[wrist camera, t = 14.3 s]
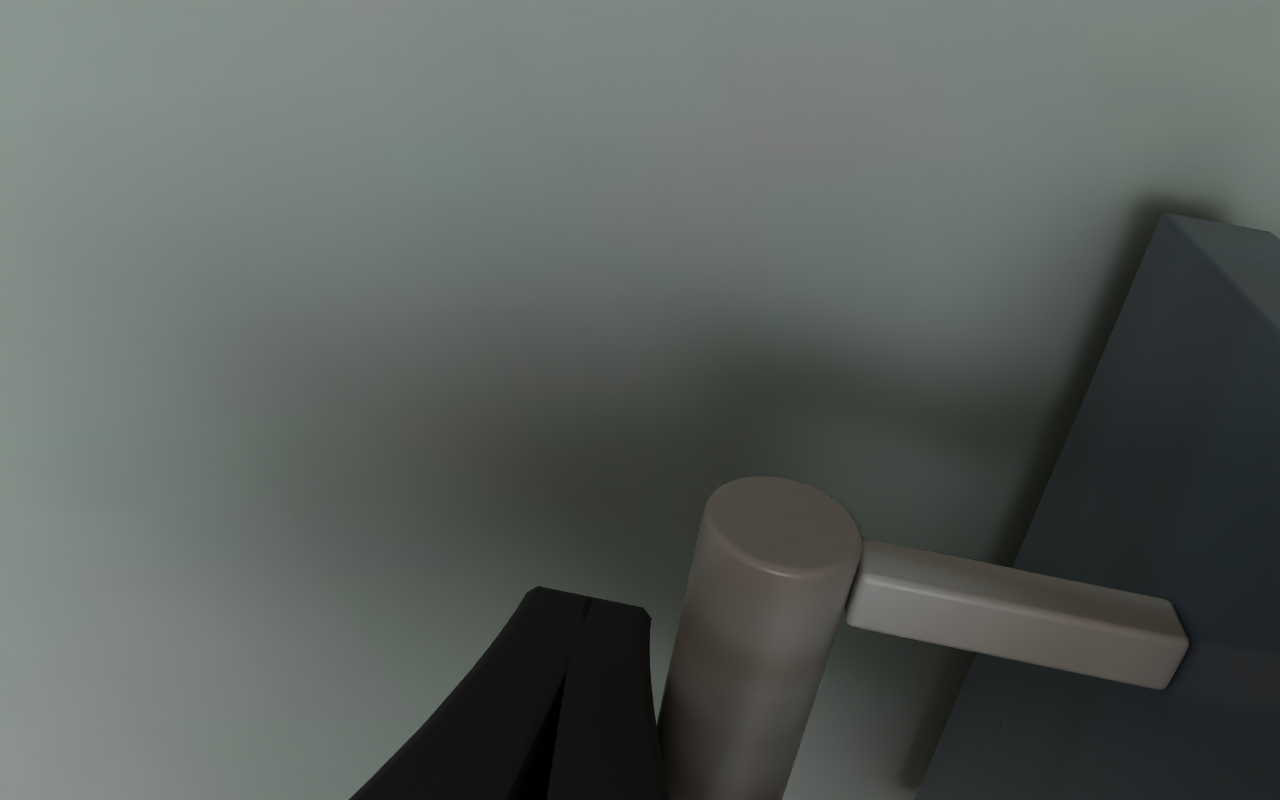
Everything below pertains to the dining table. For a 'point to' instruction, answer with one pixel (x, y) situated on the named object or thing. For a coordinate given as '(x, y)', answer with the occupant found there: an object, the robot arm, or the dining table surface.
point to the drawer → (1040, 580)
